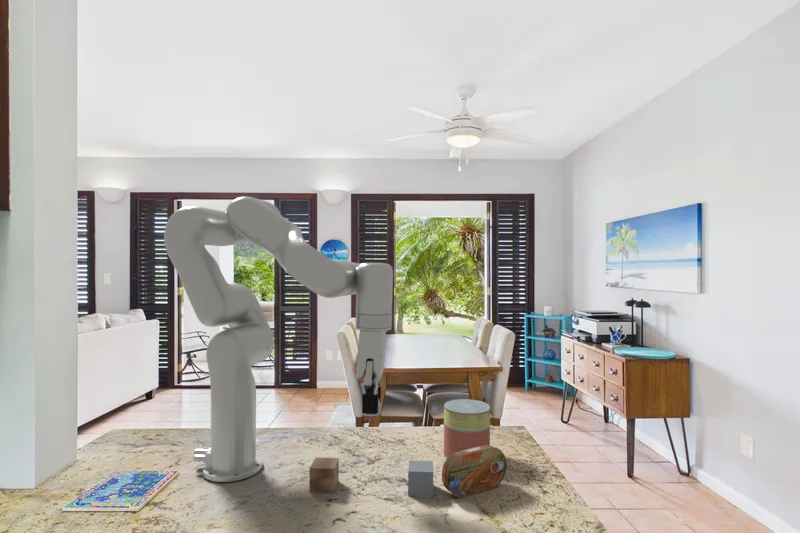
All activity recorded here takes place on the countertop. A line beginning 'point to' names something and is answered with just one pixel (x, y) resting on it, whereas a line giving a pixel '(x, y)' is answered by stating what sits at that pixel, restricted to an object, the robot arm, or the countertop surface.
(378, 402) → the rook chess piece
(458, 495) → the tin
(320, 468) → the walnut block
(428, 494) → the medium-grey block
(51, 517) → the countertop surface
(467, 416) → the canned food
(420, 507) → the countertop surface
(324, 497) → the countertop surface
